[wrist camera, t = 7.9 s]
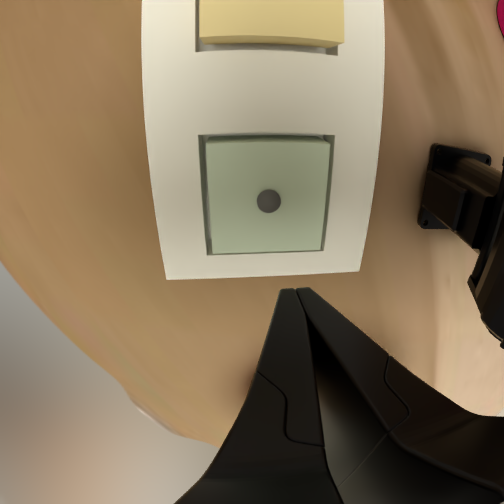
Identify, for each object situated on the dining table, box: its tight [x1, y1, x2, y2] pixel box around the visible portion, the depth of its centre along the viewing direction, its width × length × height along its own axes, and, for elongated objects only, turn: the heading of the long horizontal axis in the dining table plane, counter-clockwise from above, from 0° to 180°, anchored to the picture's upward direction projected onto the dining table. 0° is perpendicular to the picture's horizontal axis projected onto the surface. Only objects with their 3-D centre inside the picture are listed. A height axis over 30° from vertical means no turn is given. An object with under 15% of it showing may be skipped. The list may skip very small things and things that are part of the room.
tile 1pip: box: [206, 135, 330, 254], centre depth 16 cm, size 6×6×2 cm
